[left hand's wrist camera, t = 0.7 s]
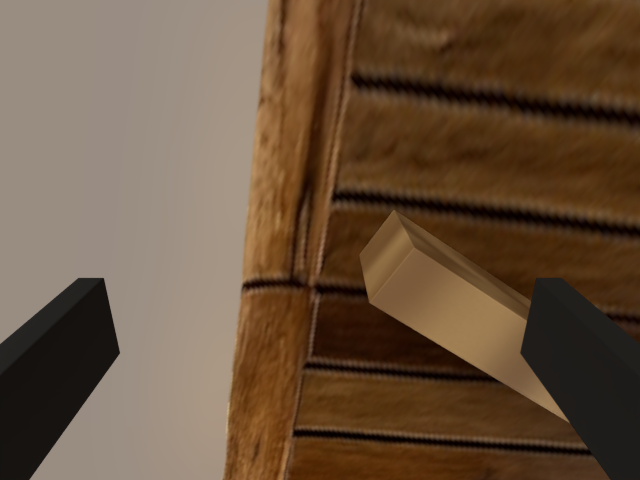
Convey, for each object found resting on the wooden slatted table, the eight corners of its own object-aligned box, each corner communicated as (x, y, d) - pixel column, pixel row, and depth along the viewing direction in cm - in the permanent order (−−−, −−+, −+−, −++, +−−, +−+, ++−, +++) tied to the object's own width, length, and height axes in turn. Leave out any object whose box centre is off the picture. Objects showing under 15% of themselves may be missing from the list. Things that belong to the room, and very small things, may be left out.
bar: (358, 255, 35) (369, 303, 28) (393, 209, 34) (414, 247, 26) (558, 379, 40) (611, 448, 33) (596, 344, 39) (662, 408, 31)
